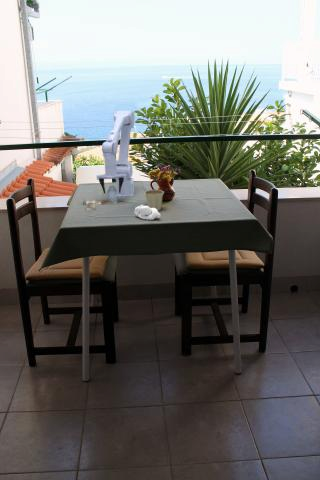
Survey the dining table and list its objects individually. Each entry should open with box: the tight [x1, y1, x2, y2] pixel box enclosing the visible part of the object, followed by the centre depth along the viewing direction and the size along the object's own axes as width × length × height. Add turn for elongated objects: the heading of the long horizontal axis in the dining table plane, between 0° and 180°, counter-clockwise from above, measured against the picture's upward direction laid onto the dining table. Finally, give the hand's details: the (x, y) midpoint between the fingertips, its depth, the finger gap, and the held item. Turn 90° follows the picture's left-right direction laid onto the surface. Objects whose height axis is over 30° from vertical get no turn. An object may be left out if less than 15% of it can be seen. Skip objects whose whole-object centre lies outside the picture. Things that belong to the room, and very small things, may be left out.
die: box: [85, 200, 96, 211], centre depth 242 cm, size 4×4×4 cm
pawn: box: [107, 185, 118, 204], centre depth 252 cm, size 4×4×8 cm
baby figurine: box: [134, 204, 162, 221], centre depth 227 cm, size 9×12×8 cm
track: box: [82, 198, 118, 206], centre depth 253 cm, size 17×6×2 cm, turn 96°
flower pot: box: [144, 189, 165, 212], centre depth 239 cm, size 9×9×9 cm
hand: (112, 192), depth 252 cm, fingers open, 7 cm apart
